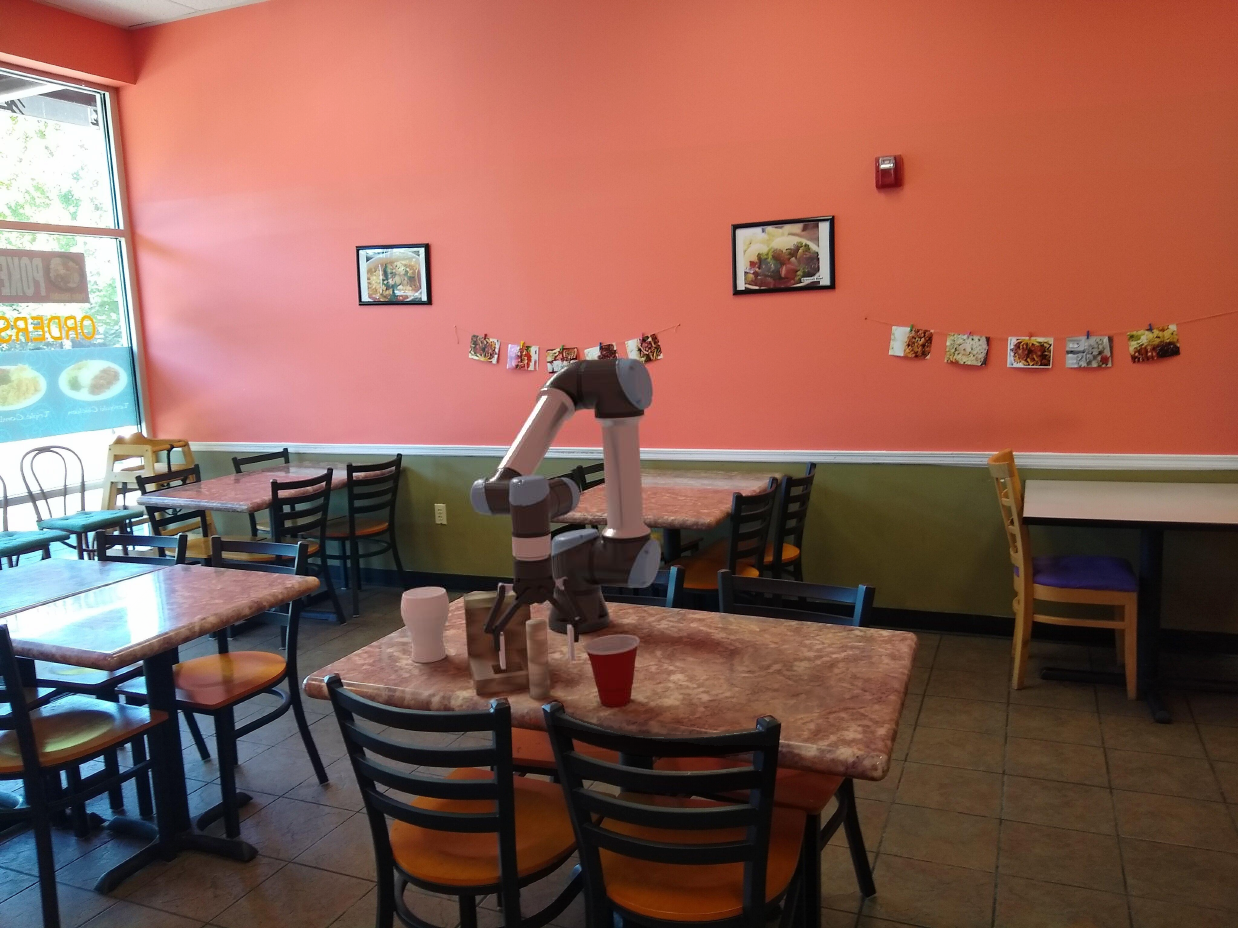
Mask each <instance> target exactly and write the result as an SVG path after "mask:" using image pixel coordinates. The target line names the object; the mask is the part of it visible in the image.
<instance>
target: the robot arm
mask: <svg viewBox="0 0 1238 928" xmlns="http://www.w3.org/2000/svg"><path fill="white" fill-rule="evenodd" d="M651 378H652V377H651V375H650V372H649V370H648V368H647V367H646V365H645V363H643V362H642V361H641V360H640V359H637V358H628V357H627V358H626V357H619V358H618V357H617V358H615V357H614V358H601V359H579V360H576V361H572V362H570V363H568V364H567V365H565V366H563V367H561V368H560V369H558V370H557V371H556V372H555V373H553V374H552V375H551V376H550V377H549V378H548V379H547V381H546V382H544V384H543V385H542V386H541V388H540V389H539V391H538V393H537V394H536V397H535V404H536V405H534V407H533V409H532V410H531V413H530V414H529V415H528V417H527V419H526V421H525V422H524V424H523V425H522V427H521V428H520V430H519V431H518V433H517V435H516V437H515V438H514V440H513V441H512V443H511V445H510V446H509V448H508V449H507V451H506V453H505V454H504V455H503V458H502V459H501V461H500V463H499V464H498V465H497V467H496V468H495V471H494V472H493V473H492V475H491V477H490V478H489V477H483V478H479V479H477V480H475V481H474V482H473V484H472V486H471V488H470V494H469V498H470V499H469V500H470V504H471V506H472V508H473V510H474V511H475V512H476V513H478V514H481V515H488V516H508V517H509V516H510V522H511V523H510V524H511V541H512V543H511V545H512V555H513V557H514V558H513V560H512V564H513V568H512V569H513V582H512V583H504V582H498V584H497V590H496V591H497V596H496V598H495V600H494V603H493V605H492V607H491V609H490V612H489V614H488V616H487V619H486V621H485V623H484V626H483V630H484V632H485V633H486V634H492V635H493V647H494V650H495V652H498V651H499V653H500V666H501V668H502V669H506V664H505V645H504V635H503V633H502V631H503V629H504V628H505V627H506V625H507V624H508V623H509V621H510V620H511V619H512V617H513V616H514V615H515V613H516V612H517V611H518V609H519V608H521V606H522V605H523V604H527V605H530V606H532V605H536V604H537V605H541V604H545V603H546V602H547V601H548V602H549V603H550V604H551V605H550V608H549V609H550V610H549V613H548V617H547V621H548V623H547V625H548V628H549V629H551V630H552V631H555V632H559V633H565V634H567V650H568V651H567V653H568V655H567V656H568V658H569V660H570V661H571V662H573V661H576V658H575V657H576V656H575V651H576V650H575V643H579V642H580V634H583V633H590V632H591V633H592V632H597V631H600V630H602V629H605V628H606V627H608V626H609V625H610V623H611V619H610V617H611V616H610V615H611V614H610V611H609V609H608V606H607V604H606V601H605V599H604V596H603V593H602V586H607V587H609V586H610V587H624V588H629V589H634V588H639V589H640V588H646V587H647V588H648V587H649V586H650V585H651V584H653V582H654V581H655V579H656V576H657V574H658V571H659V568H660V564H661V557H662V556H661V554H662V553H661V552H662V549H661V545H660V542H659V541H658V539H655V538H654V537H653V538H652V537H651V535H652V534H651V529H650V528H649V527H648V525H646V524H645V522H644V503H643V488H642V487H643V486H642V485H643V483H642V467H641V466H642V465H641V447H640V445H641V444H640V432H639V431H640V429H639V428H640V427H639V423H640V422H641V420H643V418H644V417H645V410H646V409H648V408H649V407H650V406H651V405H652V402H653V398H652V397H653V393H654V391H653V390H654V389H653V383H652V379H651ZM582 410H593V412H594V419H595V420H596V421H597V422H598V423H599V424H600V425H601V435H602V436H601V437H602V438H601V439H602V453H603V471H604V484H605V485H604V486H605V487H604V488H605V501H606V502H605V506H606V519H607V524H606V526H605V528H604V529H603V530H601V536H600V532H599V530H598V529H596V528H584V529H578V530H570V531H566V532H563V533H560V534H557V535H556V536H554V537H553V539H552V535H551V534H552V533H551V532H552V531H551V520H554V519H556V518H559V517H565V515H568V514H569V513H571V512H573V511H574V510H575V509H576V508H577V507H578V506H579V503H580V502H581V501H580V500H581V492H580V489H579V487H578V485H577V484H576V483H575V482H574V481H573V480H572V479H570V478H568V477H559V478H558V477H555V478H553V479H548V478H547V477H546V476H545V475H536V474H535V473H536V472H537V469H538V468H539V466H540V465H541V463H542V461H543V459H544V458H545V456H546V454H547V453H548V451H549V449H550V447H551V445H552V444H553V442H554V441H555V439H556V437H557V435H558V434H559V432H560V430H561V428H562V427H563V425H564V424H565V422H568V421H569V420H570V419H572V418H573V417H574V415H575V413H576V412H578V411H582ZM511 590H513V591H514V593H515V594H516V597H515V598H514V599H513V601H512V603H511V604H510V606H509V607H508V608H507V610H506V611H505V612H504V614H503V615H502V617H501V618H500V619H499V621H498V622H497V623H496V625H495V626H494V627H493V624H494V622H495V620H496V618H497V615H498V613H499V611H500V608H501V606H502V604H503V601H504V599H505V596H506V595H508V594H509V592H510V591H511ZM552 593H553V594H552Z"/></svg>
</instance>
